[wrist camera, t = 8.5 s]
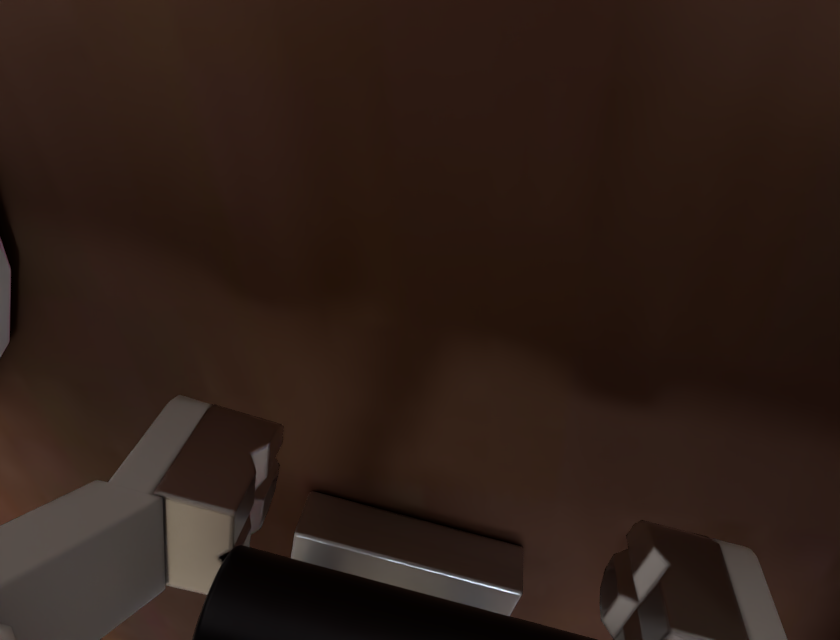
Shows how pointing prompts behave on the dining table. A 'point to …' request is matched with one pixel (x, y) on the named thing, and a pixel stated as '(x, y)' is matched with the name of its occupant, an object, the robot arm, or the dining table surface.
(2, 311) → the teacup
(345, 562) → the bracket
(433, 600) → the lever
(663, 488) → the dining table surface
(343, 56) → the dining table surface
